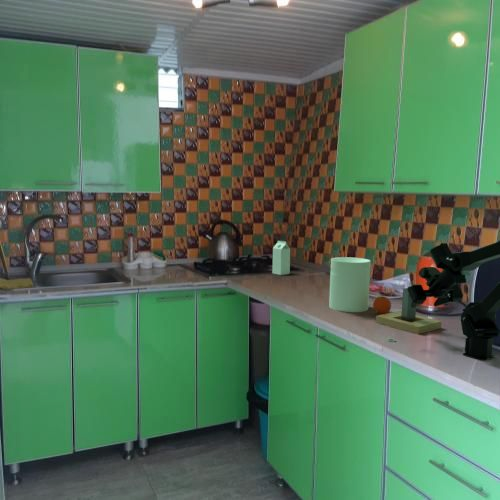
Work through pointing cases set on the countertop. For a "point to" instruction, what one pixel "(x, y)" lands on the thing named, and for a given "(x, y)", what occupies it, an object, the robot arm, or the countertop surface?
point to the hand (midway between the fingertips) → (423, 306)
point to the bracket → (407, 307)
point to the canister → (349, 284)
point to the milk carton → (281, 258)
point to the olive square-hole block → (409, 323)
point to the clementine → (382, 305)
